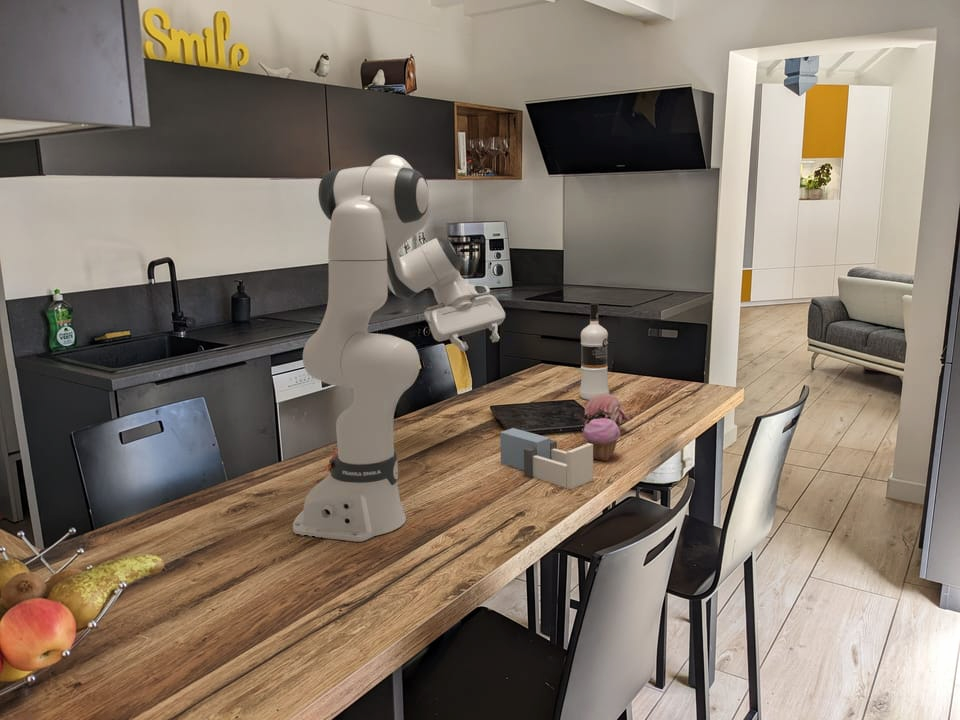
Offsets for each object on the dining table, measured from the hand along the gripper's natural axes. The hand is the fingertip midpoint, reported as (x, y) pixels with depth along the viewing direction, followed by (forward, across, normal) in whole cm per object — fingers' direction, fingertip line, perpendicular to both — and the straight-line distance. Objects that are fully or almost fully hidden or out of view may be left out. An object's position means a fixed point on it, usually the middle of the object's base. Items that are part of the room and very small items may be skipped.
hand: (481, 345), depth 193 cm
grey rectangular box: (+31, -1, +6) cm, 31 cm away
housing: (+38, 0, -2) cm, 38 cm away
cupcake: (+37, +17, +3) cm, 41 cm away
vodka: (+12, +53, +39) cm, 67 cm away
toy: (+29, +31, +15) cm, 45 cm away
